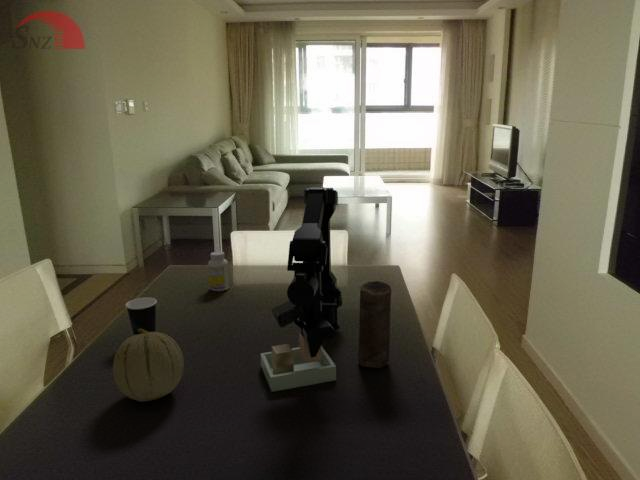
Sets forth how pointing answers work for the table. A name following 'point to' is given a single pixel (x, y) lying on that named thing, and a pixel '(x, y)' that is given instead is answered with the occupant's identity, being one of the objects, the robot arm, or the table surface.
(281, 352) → the maple block
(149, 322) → the dixie cup
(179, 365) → the cantaloupe
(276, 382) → the sage tub
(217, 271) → the supplement bottle
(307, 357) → the coral block
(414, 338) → the table surface
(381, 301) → the candle
